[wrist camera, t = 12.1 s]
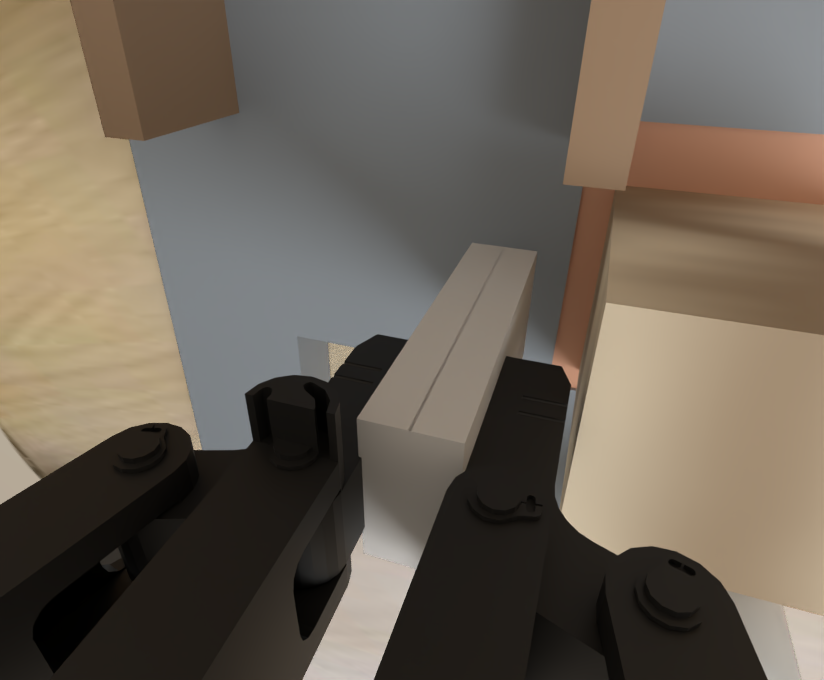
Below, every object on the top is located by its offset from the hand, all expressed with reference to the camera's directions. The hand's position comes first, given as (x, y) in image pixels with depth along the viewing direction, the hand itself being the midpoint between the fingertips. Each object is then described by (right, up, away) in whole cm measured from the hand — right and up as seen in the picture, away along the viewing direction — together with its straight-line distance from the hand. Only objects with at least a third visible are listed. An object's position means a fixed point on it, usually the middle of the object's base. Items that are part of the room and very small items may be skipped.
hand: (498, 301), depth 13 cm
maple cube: (+5, 0, 0) cm, 5 cm away
